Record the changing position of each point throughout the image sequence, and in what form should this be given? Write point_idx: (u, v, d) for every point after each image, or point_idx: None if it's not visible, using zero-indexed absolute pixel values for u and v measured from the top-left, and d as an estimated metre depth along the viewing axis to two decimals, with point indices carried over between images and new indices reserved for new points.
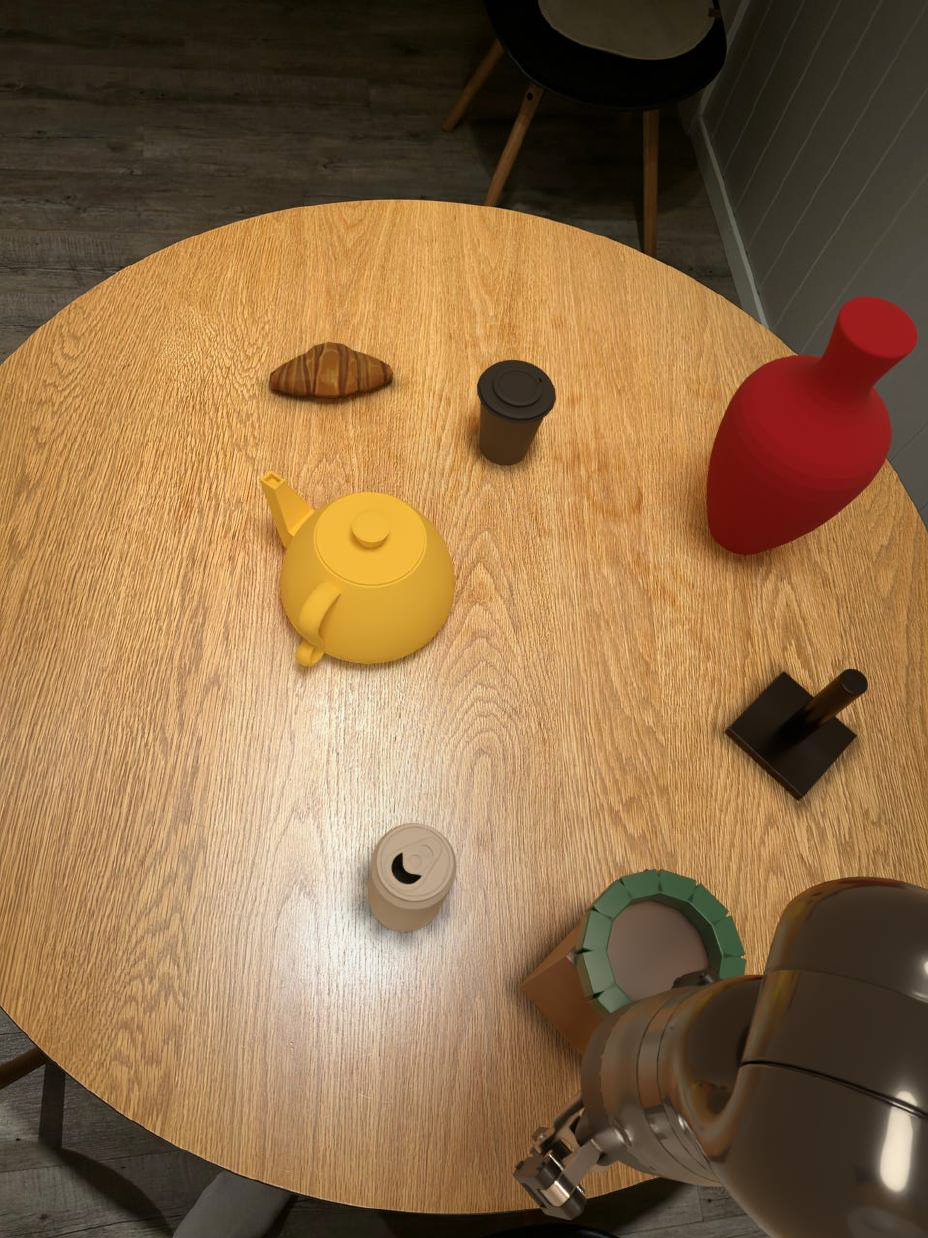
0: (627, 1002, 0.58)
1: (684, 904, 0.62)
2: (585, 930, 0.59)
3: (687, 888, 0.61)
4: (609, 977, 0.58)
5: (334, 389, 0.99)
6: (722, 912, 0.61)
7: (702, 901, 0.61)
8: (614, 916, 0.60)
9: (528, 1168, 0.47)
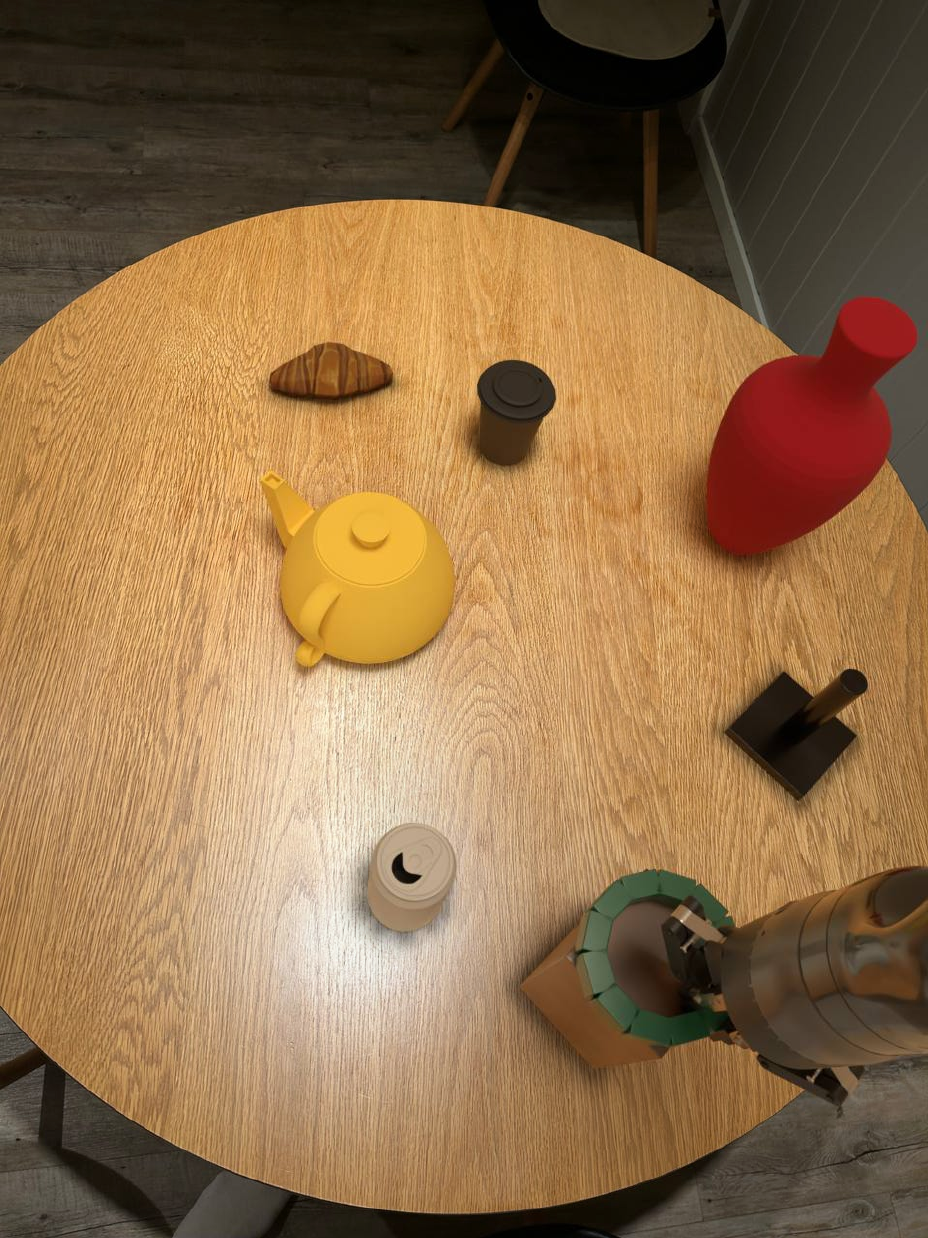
0: (627, 1002, 0.58)
1: None
2: (585, 930, 0.59)
3: (687, 888, 0.61)
4: (609, 977, 0.58)
5: (334, 389, 0.99)
6: (722, 912, 0.61)
7: (702, 901, 0.61)
8: (614, 916, 0.60)
9: None
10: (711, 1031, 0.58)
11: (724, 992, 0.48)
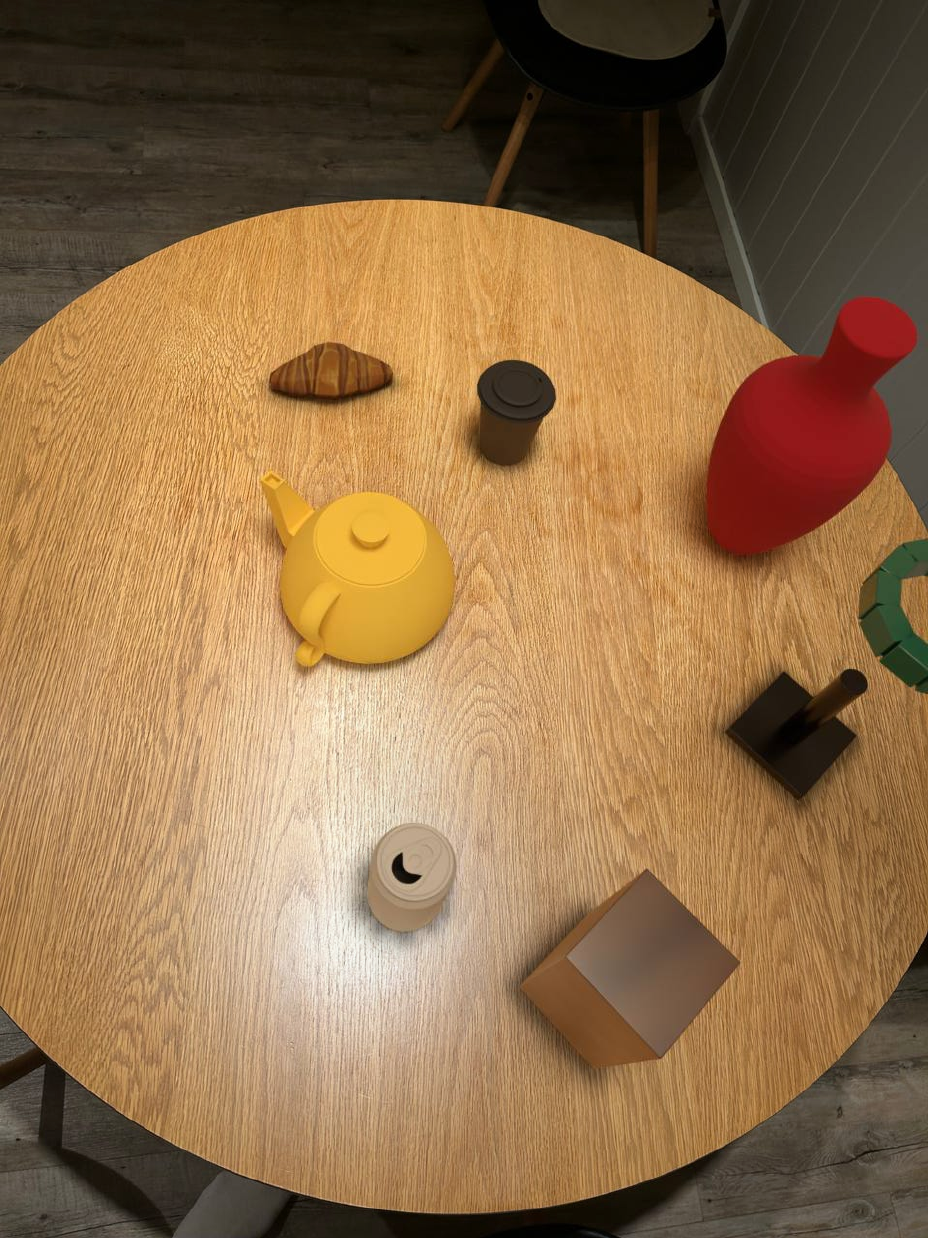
0: None
1: None
2: (876, 587, 0.59)
3: None
4: (907, 627, 0.58)
5: (334, 389, 0.99)
6: None
7: None
8: (903, 575, 0.59)
9: None
10: None
11: None
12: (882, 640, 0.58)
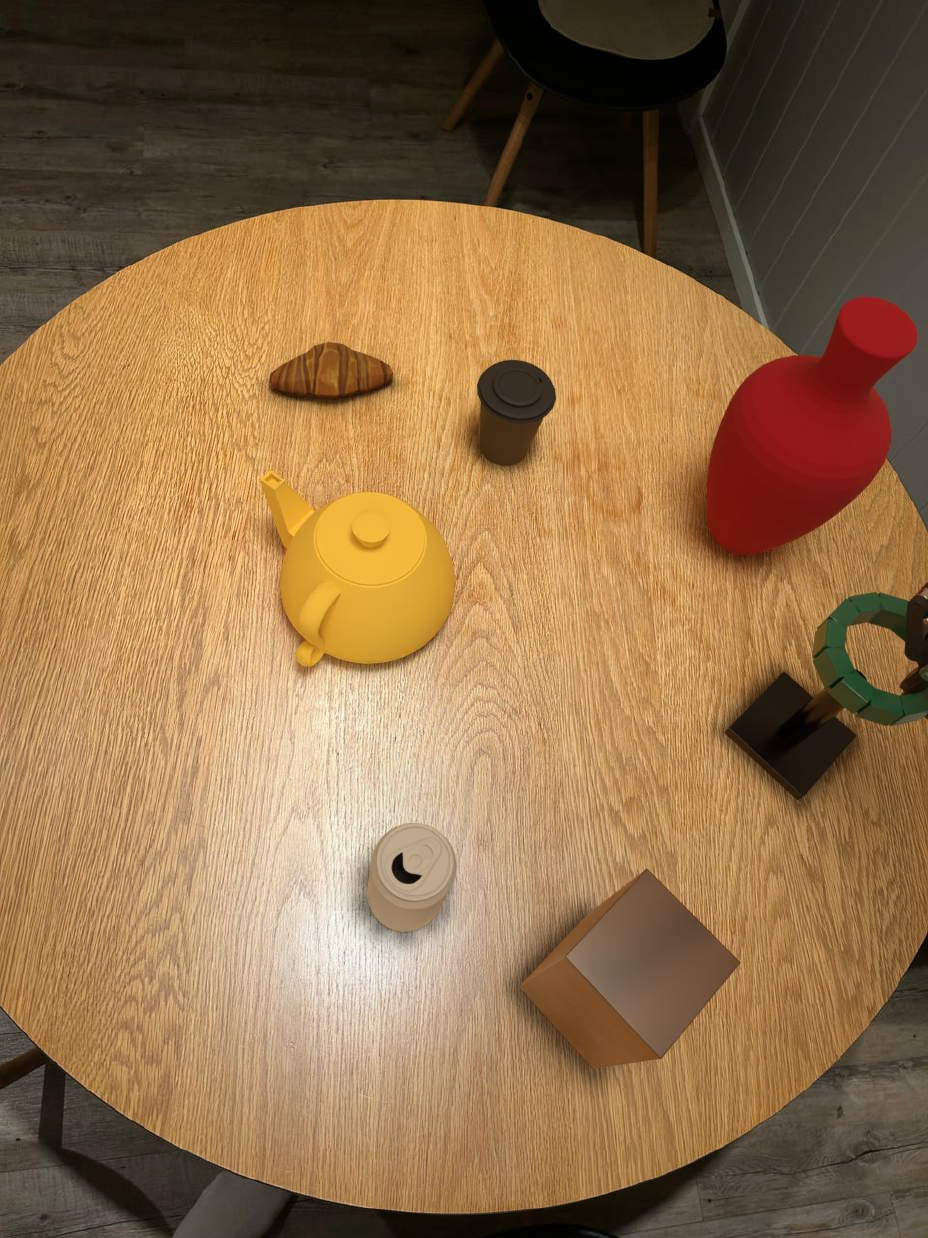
0: (866, 683, 0.71)
1: (899, 620, 0.75)
2: (826, 633, 0.73)
3: (903, 606, 0.75)
4: (849, 666, 0.72)
5: (334, 389, 0.99)
6: None
7: None
8: (848, 623, 0.74)
9: None
10: None
11: None
12: (829, 676, 0.73)
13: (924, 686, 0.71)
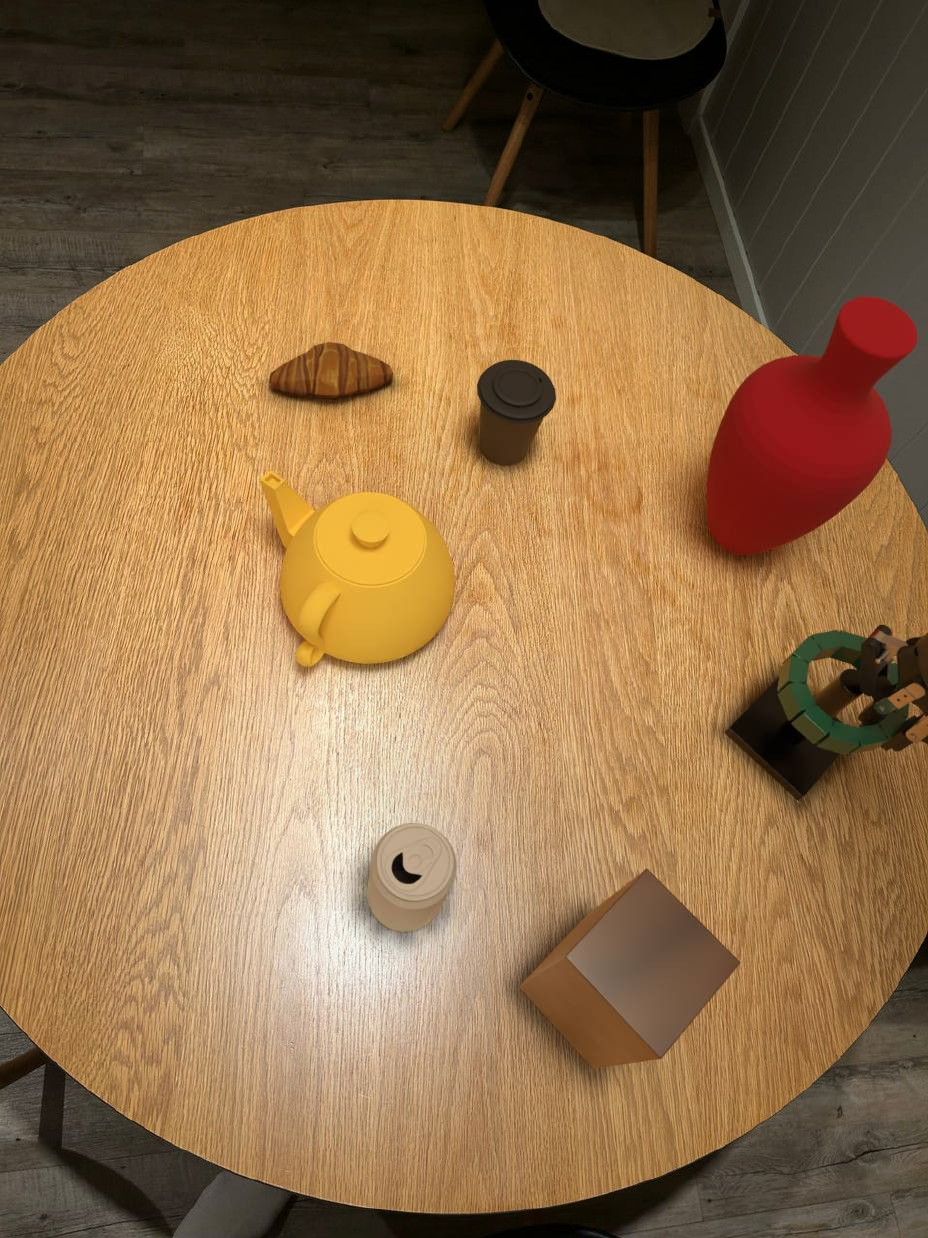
0: (825, 716, 0.77)
1: (858, 656, 0.81)
2: (789, 669, 0.79)
3: (861, 643, 0.81)
4: (810, 700, 0.78)
5: (334, 389, 0.99)
6: None
7: None
8: (810, 660, 0.80)
9: None
10: (888, 738, 0.77)
11: (922, 667, 0.68)
12: (792, 709, 0.79)
13: (879, 719, 0.77)
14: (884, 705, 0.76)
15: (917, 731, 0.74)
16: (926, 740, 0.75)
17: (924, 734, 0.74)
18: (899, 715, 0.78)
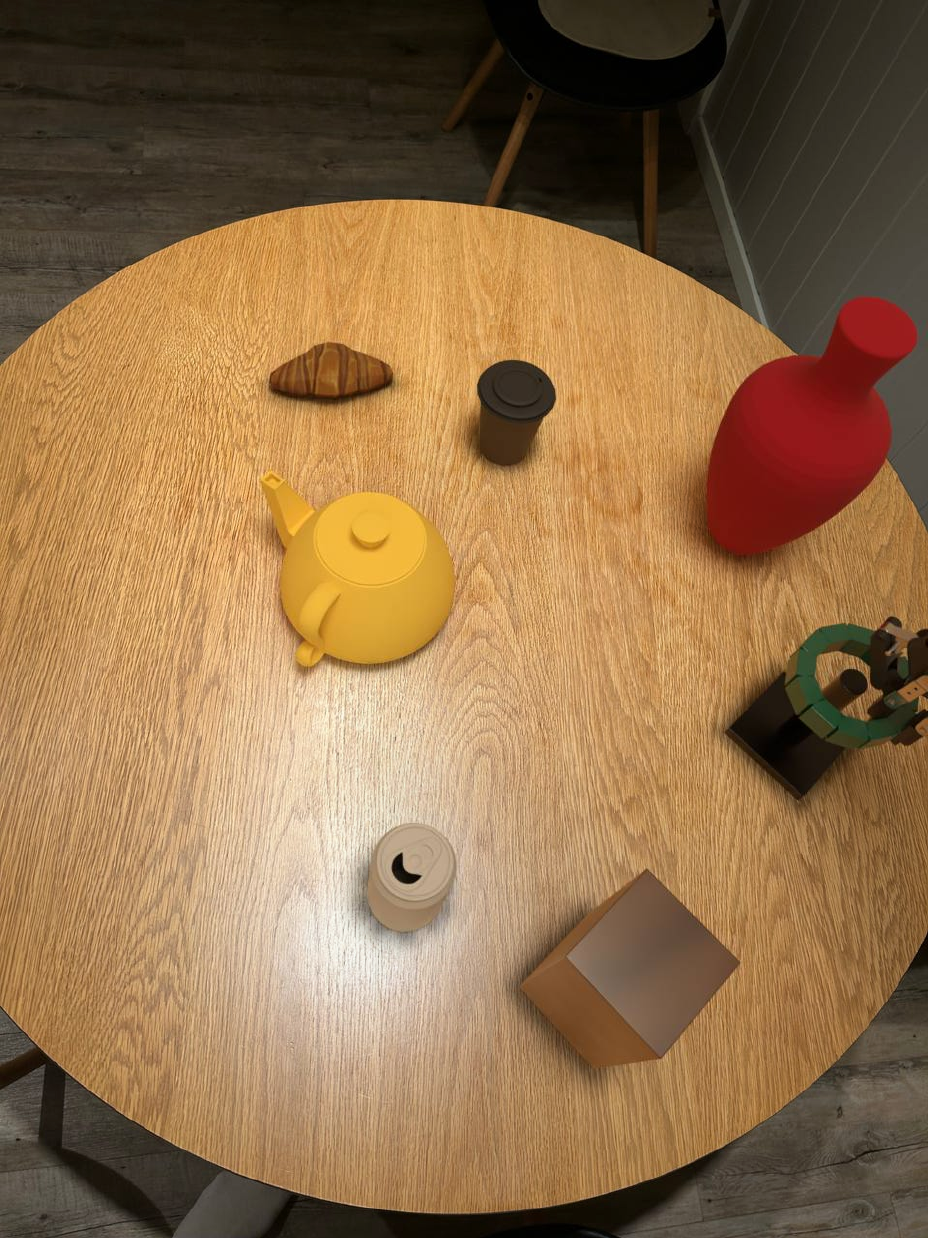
0: (834, 710, 0.76)
1: (867, 649, 0.80)
2: (797, 662, 0.78)
3: (870, 636, 0.80)
4: (819, 693, 0.77)
5: (334, 389, 0.99)
6: None
7: None
8: (818, 653, 0.79)
9: None
10: (897, 732, 0.76)
11: None
12: (800, 703, 0.77)
13: (889, 713, 0.76)
14: (894, 699, 0.74)
15: (927, 725, 0.73)
16: None
17: None
18: (909, 709, 0.77)
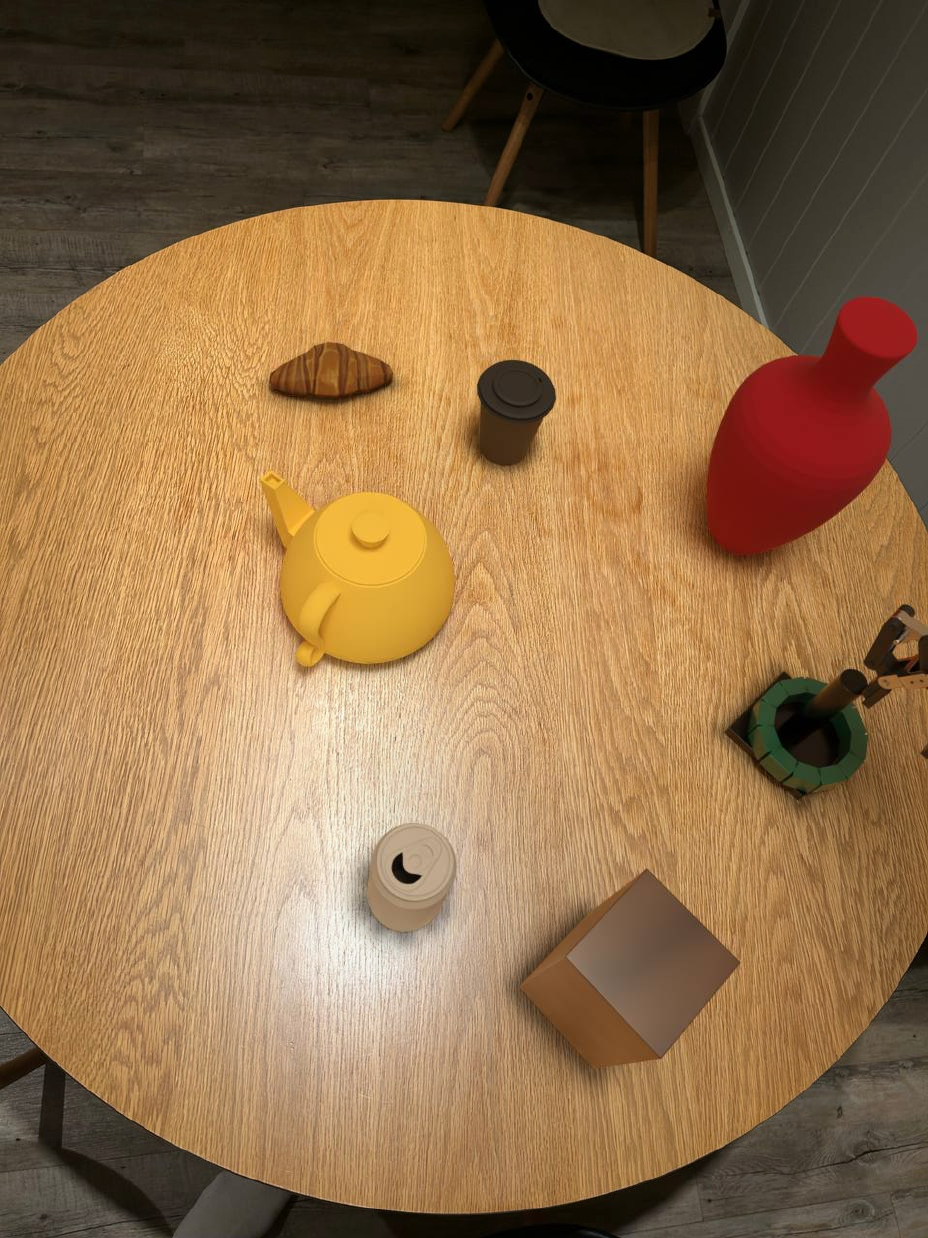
0: (790, 757, 0.85)
1: None
2: (758, 713, 0.87)
3: None
4: (776, 742, 0.86)
5: (334, 389, 0.99)
6: (850, 705, 0.88)
7: None
8: (777, 705, 0.87)
9: None
10: (846, 778, 0.85)
11: None
12: (760, 749, 0.86)
13: (883, 694, 0.75)
14: (888, 679, 0.73)
15: None
16: None
17: None
18: (858, 757, 0.86)
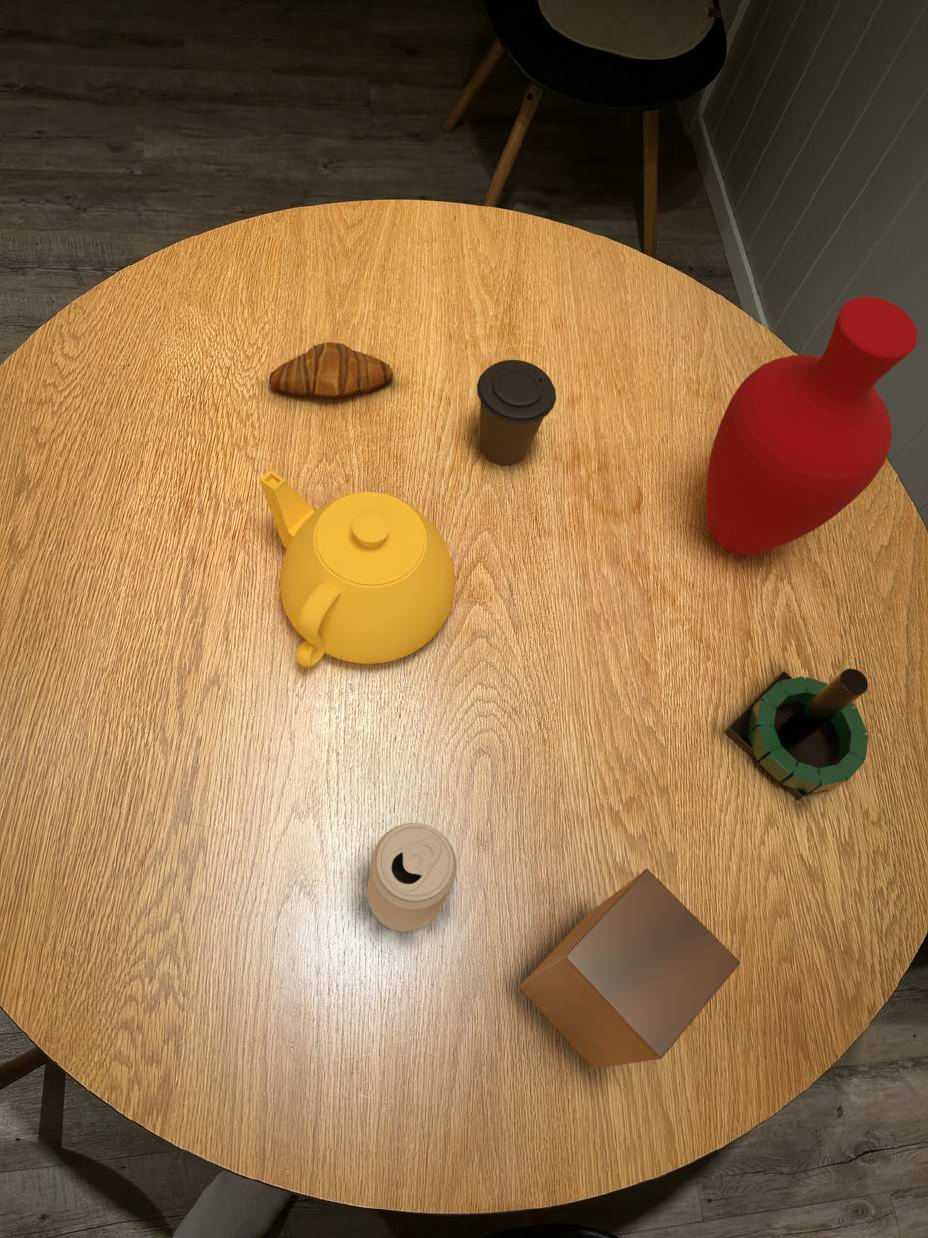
0: (790, 757, 0.85)
1: None
2: (758, 713, 0.87)
3: None
4: (776, 742, 0.86)
5: (334, 389, 0.99)
6: (850, 705, 0.88)
7: None
8: (777, 705, 0.87)
9: None
10: (846, 778, 0.85)
11: None
12: (760, 749, 0.86)
13: None
14: None
15: None
16: None
17: None
18: (858, 757, 0.86)
